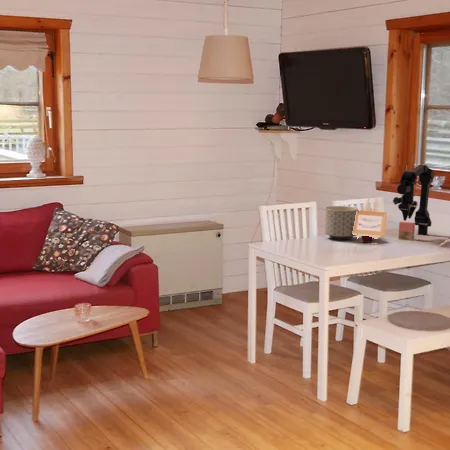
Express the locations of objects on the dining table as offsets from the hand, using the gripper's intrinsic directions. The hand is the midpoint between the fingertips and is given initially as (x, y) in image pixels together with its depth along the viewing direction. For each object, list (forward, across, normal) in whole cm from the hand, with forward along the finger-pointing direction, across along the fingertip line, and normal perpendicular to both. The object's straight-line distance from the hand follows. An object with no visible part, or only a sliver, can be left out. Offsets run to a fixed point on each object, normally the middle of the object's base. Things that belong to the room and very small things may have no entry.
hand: (407, 219), depth 437 cm
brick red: (+7, 0, 0) cm, 7 cm away
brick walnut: (+12, 0, 0) cm, 12 cm away
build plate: (+13, 0, 0) cm, 13 cm away
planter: (+13, +14, -35) cm, 40 cm away
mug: (+13, +16, -17) cm, 27 cm away
